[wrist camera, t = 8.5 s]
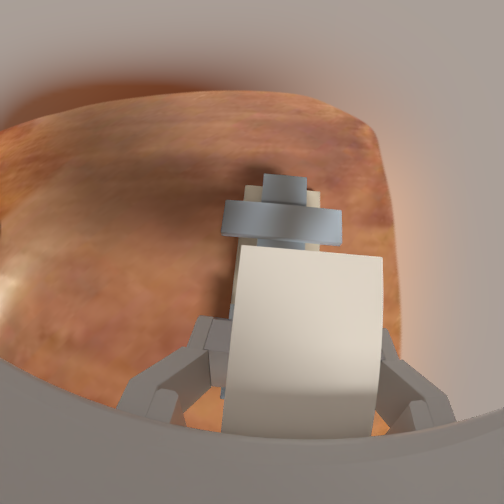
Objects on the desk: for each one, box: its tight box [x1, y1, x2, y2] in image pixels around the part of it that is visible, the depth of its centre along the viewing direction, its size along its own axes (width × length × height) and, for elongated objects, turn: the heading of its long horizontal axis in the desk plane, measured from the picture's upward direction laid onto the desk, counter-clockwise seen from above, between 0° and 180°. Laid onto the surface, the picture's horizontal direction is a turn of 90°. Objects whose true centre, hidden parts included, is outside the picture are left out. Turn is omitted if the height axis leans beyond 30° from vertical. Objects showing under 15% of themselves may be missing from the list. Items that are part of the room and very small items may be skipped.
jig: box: [220, 174, 342, 399], centre depth 25 cm, size 10×21×6 cm, turn 174°
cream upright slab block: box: [221, 245, 383, 439], centre depth 10 cm, size 4×5×8 cm
